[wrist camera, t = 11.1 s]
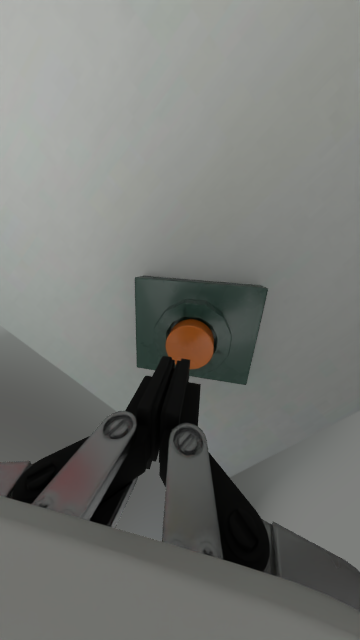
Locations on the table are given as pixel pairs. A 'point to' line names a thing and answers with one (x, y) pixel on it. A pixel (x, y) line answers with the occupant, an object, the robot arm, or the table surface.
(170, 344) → the orange push button
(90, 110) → the table surface
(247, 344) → the green button base
